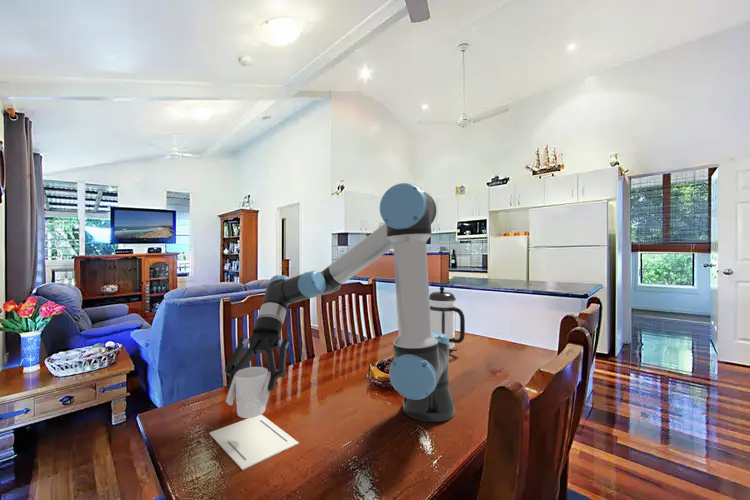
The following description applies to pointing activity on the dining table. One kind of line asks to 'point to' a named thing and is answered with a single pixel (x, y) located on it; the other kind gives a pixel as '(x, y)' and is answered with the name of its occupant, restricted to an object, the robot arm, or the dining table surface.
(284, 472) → the dining table surface
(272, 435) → the paper sheet
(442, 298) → the coffee press
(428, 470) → the dining table surface
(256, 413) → the white cup
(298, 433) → the dining table surface
